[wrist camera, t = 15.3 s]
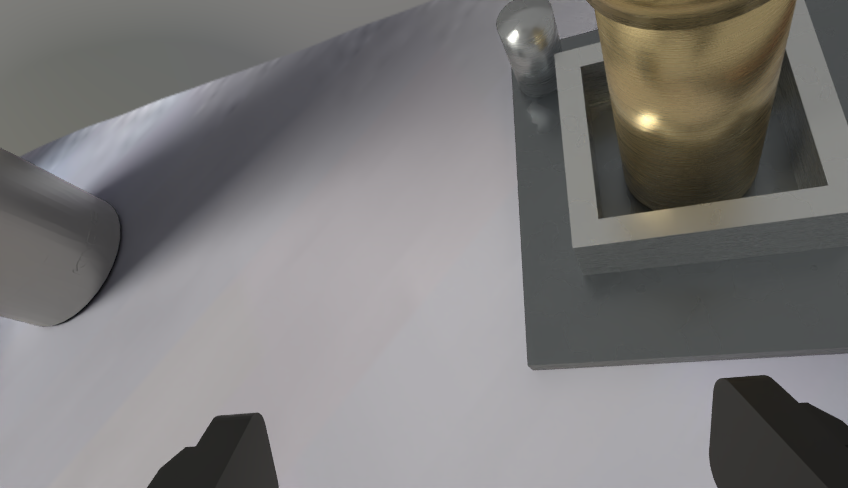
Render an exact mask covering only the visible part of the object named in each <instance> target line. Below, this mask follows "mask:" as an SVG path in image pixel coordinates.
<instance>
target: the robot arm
mask: <svg viewBox="0 0 848 488" xmlns="http://www.w3.org/2000/svg"><path fill="white" fill-rule="evenodd" d="M119 241H120V223H119V219H118V215H117V213H116V211H115V210H114V208H113V207H112V206H111V205H110V204H109V203H107V202H106V201H104V200H102V199H100V198H98V197H96V196H94V195H92V194H90V193H88V192H86V191H84V190H82V189H80V188H78V187H76V186H74V185H72V184H70V183H68V182H66V181H64V180H63V179H61V178H59V177H57V176H55V175H53V174H51V173H49V172H47V171H45V170H43V169H42V168H40V167H38V166H36V165H34V164H32V163H30V162H28V161H26V160H24V159H22V158H20V157H18V156H16V155H14V154H12V153H10V152H8V151H6V150H4V149H2V148H0V316H1V317H5V318H9V319H13V320H17V321H21V322H25V323H29V324H32V325H37V326H41V327H46V326H54V325H56V324H59V323H62V322H64V321H66V320H67V319H69V318H71V317H72V316H74V315H75V314H76V313H78V312H79V311H80V310H81V309H82V308H83V307H84V306H86V305H87V304H88V302H89V301H90V300H91V299H92V298H93V297H94V296H95V294H96V293H97V292H98V290H99V289H100V287H101V286H102V284H103V283H104V281H105V280H106V278H107V276H108V274H109V272H110V270H111V268H112V266H113V263H114V260H115V257H116V254H117V252H118V246H119ZM709 460H710V466H711V471H712V474H713V478H714V480H715V483H716V485H717V487H718V488H848V426H847V425H846V424H845V423H844V422H843V421H841V420H839V419H838V418H836V417H834V416H832V415H830V414H828V413H826V412H824V411H822V410H820V409H818V408H816V407H815V406H813V405H811V404H809V403H798V402H797V401H796V400H795V399H794V398H793V397H792V396H791V395H790V394H788V393H787V392H786V391H785V390H784V389H783V388H782V387H781V386H780V385H779V384H778V383H777V382H775V381H774V380H773V379H772V378H771V377H769V376H766V375H759V376H746V377H733V378H721V379H718V380H717V381H716V383H715V386H714V391H713V404H712V418H711V432H710V447H709ZM147 488H279V486H278V480H277V475H276V471H275V466H274V462H273V457H272V452H271V448H270V443H269V439H268V434H267V430H266V425H265V422H264V419H263V417H262V415H261V414H260V413H247V414H234V415H221V416H216V417H215V418H214V419H213V420H212V421H211V423H210V425H209V426H208V428H207V429H206V431H205V433H204V434H203V436H202V437H201V439H200V441H199V442H198V444H197V445H196V446H195V447H185V448H184V449H183V450H182V451H180V452H179V453H178V454H177V455H176V456H175V457H173V458H172V459H171V460H170V461H169V462H167V463H166V464H165V465H164V466H163V467H161V468H160V469H159V471H158V472H157V474H156V475H155V477H154V478H153V480H152V481H151V483H150V484H149V486H148V487H147Z"/></svg>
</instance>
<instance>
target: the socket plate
mask: <svg viewBox="0 0 848 488" xmlns="http://www.w3.org/2000/svg"><path fill="white" fill-rule="evenodd" d="M496 25H497V30H498V32H499V35H500V38H501V40H502V43H503V46H504V48H505V51H506V53H507V56H508V59H509V61H510V64H511V69H512V87H513V105H514V124H515V142H516V160H517V179H518V197H519V215H520V234H521V252H522V270H523V289H524V307H525V325H526V343H527V362H528V366H529V367H530V368H531V369H532V370H548V369H567V368H585V367H604V366H622V365H641V364H659V363H678V362H696V361H715V360H733V359H752V358H770V357H789V356H807V355H826V354H844V353H848V0H797V1H796V5H795V9H794V14H793V18H792V23H791V27H790V31H789V36H788V40H787V45H786V49H785V53H784V58H783V62H782V66H781V71H780V75H779V80H778V84H777V88H776V93H775V97H774V102H773V106H772V110H771V115H770V119H769V123H768V128H767V132H766V137H765V141H764V145H763V150H762V154H761V159H760V163H759V167H758V172H757V175H756V177H755V180H754V182H753V183H752V185H751V187H750V188H749V189H748V190H747V192H746V193H745V194H744V195H743V196H742V197H741V198H739V199H732V200H725V201H718V202H712V203H705V204H698V205H691V206H684V207H677V208H671V209H664V210H657V211H654V210H652V209H650V208H649V207H647V206H645V205H644V204H643V203H641V202H640V201H639V200H638V199H637V198H636V197H635V196H634V195H633V194H632V193H631V191H630V190H629V188H628V186H627V184H626V181H625V179H624V174H623V168H622V162H621V157H620V151H619V145H618V140H617V134H616V128H615V123H614V117H613V111H612V106H611V100H610V94H609V88H608V83H607V77H606V71H605V66H604V60H603V54H602V49H601V43H600V37H599V32H598V30H595V31H591V32H587V33H583V34H579V35H576V36H572V37H568V38H564V39H561V40H560V39H559V35H558V31H557V27H556V23H555V19H554V15H553V11H552V7H551V4H550V2H549V1H548V0H513V1H512V2H510V3H509V4H508V5H506V6H505V7H504V8H503V10H502V11H501V12H500V14H499V16H498V18H497V24H496Z"/></svg>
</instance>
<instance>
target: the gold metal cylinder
mask: <svg viewBox="0 0 848 488" xmlns="http://www.w3.org/2000/svg"><path fill="white" fill-rule="evenodd" d="M586 1H587V2H588V3H589V4H590V5H591V6H592V7H593V8H594V9H595V15H596V20H597V26H598V32H599V37H600V43H601V49H602V54H603V60H604V66H605V71H606V77H607V83H608V88H609V94H610V100H611V106H612V111H613V117H614V123H615V128H616V134H617V140H618V145H619V151H620V157H621V162H622V168H623V174H624V179H625V181H626V184H627V186H628V188H629V190H630V191H631V193H632V194H633V195H634V196H635V197H636V198H637V199H638V200H639V201H640V202H641V203H643V204H644V205H645V206H647V207H649V208H650V209H652V210H654V211H657V210H664V209H671V208H677V207H684V206H691V205H698V204H705V203H712V202H718V201H725V200H732V199H739V198H741V197H742V196H743V195H744V194H745V193H746V192H747V190H748V189H749V188H750V187H751V185H752V183H753V182H754V180H755V177H756V175H757V172H758V167H759V163H760V159H761V154H762V150H763V145H764V141H765V137H766V132H767V128H768V123H769V119H770V115H771V110H772V106H773V102H774V97H775V93H776V88H777V84H778V80H779V75H780V71H781V66H782V62H783V58H784V53H785V49H786V45H787V40H788V36H789V31H790V27H791V23H792V18H793V14H794V9H795V5H796V1H797V0H586Z"/></svg>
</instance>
